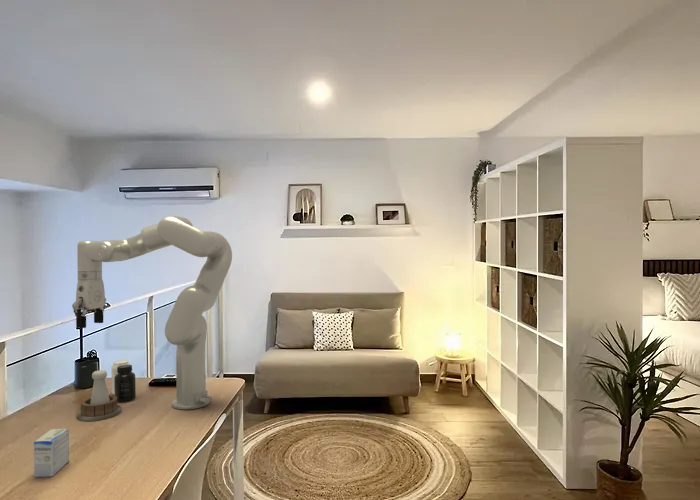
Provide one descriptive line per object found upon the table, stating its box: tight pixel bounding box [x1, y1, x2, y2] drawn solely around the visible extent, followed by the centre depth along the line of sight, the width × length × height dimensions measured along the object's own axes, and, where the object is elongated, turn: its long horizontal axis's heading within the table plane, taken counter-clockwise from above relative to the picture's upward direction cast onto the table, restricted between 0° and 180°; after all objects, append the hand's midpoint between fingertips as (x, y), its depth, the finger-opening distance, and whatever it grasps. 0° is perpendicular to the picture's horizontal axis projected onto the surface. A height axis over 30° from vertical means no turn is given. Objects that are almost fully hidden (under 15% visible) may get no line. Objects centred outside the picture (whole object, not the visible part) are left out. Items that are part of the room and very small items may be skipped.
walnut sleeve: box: [76, 394, 123, 423], centre depth 157 cm, size 13×13×4 cm
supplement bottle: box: [114, 364, 137, 403], centre depth 171 cm, size 7×7×12 cm
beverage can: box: [111, 359, 131, 396], centre depth 177 cm, size 6×6×12 cm
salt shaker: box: [90, 369, 110, 404], centre depth 157 cm, size 6×6×13 cm
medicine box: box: [33, 428, 70, 478], centre depth 119 cm, size 8×4×9 cm, turn 5°
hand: (90, 325), depth 168 cm, fingers open, 9 cm apart
